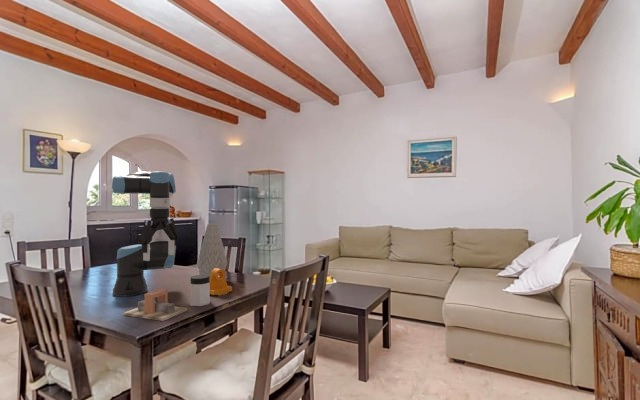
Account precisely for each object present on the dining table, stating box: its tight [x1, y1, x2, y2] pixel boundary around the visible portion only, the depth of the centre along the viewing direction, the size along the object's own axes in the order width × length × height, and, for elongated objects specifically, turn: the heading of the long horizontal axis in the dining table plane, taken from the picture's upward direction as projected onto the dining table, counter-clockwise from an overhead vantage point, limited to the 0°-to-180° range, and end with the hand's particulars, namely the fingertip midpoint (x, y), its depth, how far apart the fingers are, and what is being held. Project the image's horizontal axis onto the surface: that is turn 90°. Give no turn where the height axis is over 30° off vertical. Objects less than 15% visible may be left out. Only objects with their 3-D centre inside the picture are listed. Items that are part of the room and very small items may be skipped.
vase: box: [196, 223, 228, 276], centre depth 188 cm, size 17×17×33 cm
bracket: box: [210, 268, 233, 296], centre depth 164 cm, size 11×7×12 cm, turn 136°
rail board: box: [123, 299, 188, 322], centre depth 135 cm, size 20×13×4 cm, turn 72°
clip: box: [143, 288, 169, 314], centre depth 135 cm, size 4×8×8 cm, turn 162°
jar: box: [190, 274, 211, 307], centre depth 148 cm, size 9×8×12 cm
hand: (159, 257), depth 142 cm, fingers open, 13 cm apart
